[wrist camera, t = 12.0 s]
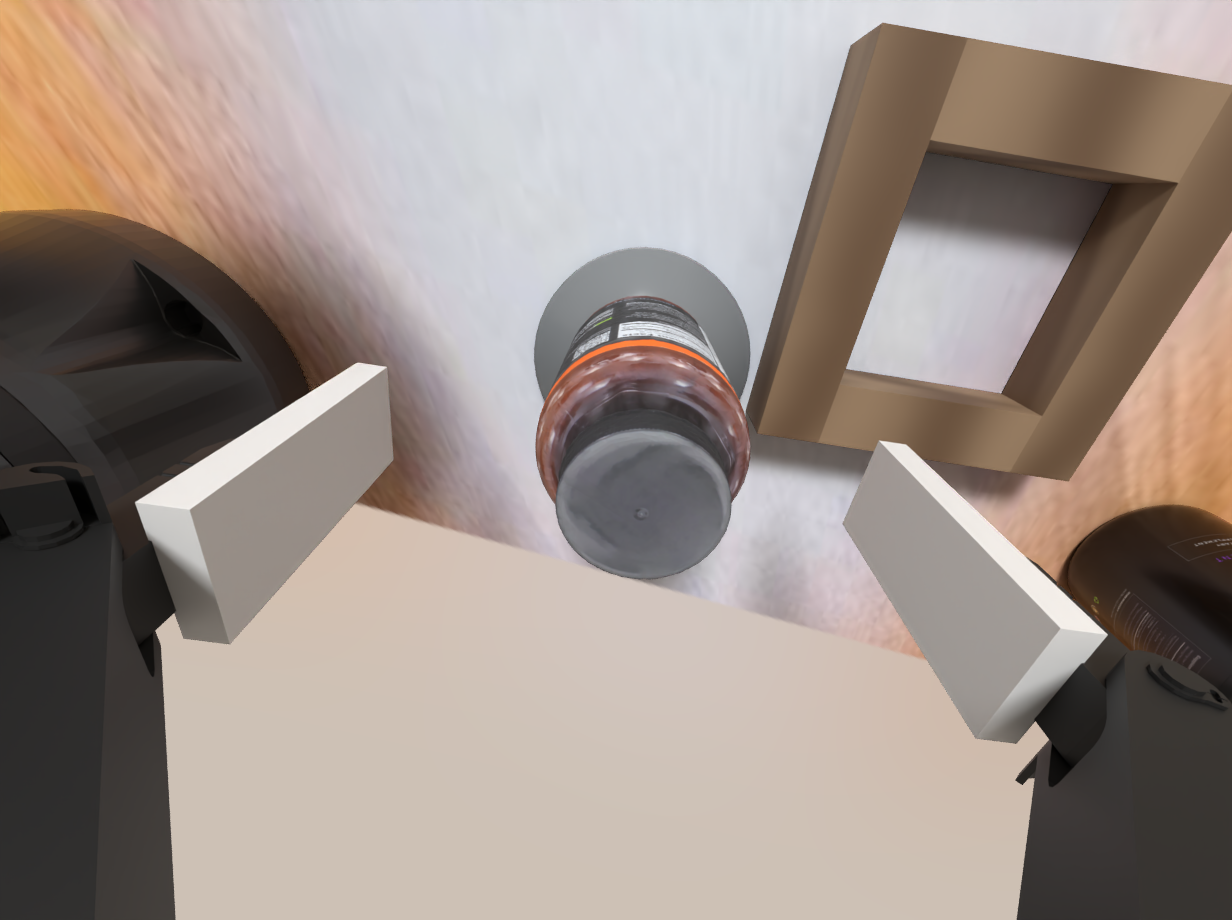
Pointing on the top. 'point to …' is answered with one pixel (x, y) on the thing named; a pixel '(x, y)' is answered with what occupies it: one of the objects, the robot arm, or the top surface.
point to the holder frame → (1090, 290)
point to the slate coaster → (643, 277)
